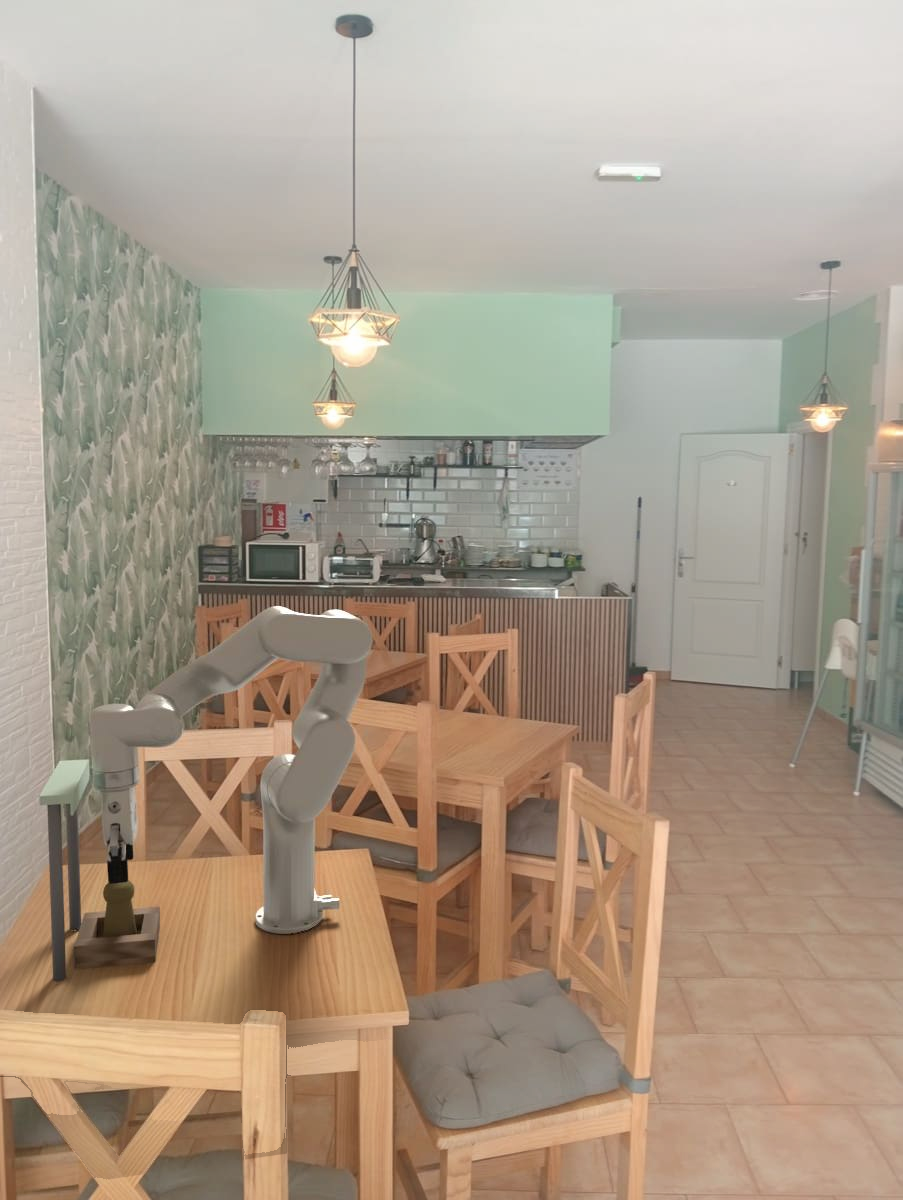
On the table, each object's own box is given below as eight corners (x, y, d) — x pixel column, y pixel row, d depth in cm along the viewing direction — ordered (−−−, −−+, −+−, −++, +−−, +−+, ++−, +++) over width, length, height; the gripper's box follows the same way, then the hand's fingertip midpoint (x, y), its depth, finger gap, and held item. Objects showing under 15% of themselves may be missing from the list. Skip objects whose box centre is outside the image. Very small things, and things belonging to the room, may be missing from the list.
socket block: (159, 927, 175) (159, 906, 175) (155, 961, 163) (154, 939, 162) (85, 933, 172) (84, 912, 172) (74, 969, 160) (74, 946, 159)
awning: (93, 924, 176) (89, 759, 172) (78, 979, 157) (72, 794, 153) (64, 927, 175) (59, 760, 171) (45, 982, 155) (39, 796, 152)
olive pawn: (126, 951, 164) (124, 891, 163) (94, 947, 165) (93, 887, 164) (144, 936, 170) (143, 877, 168) (114, 932, 171) (112, 873, 170)
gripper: (134, 790, 156) (139, 889, 159) (142, 760, 173) (147, 850, 175) (86, 794, 155) (92, 894, 157) (99, 763, 171) (104, 854, 174)
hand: (121, 870), depth 166 cm, fingers open, 9 cm apart
